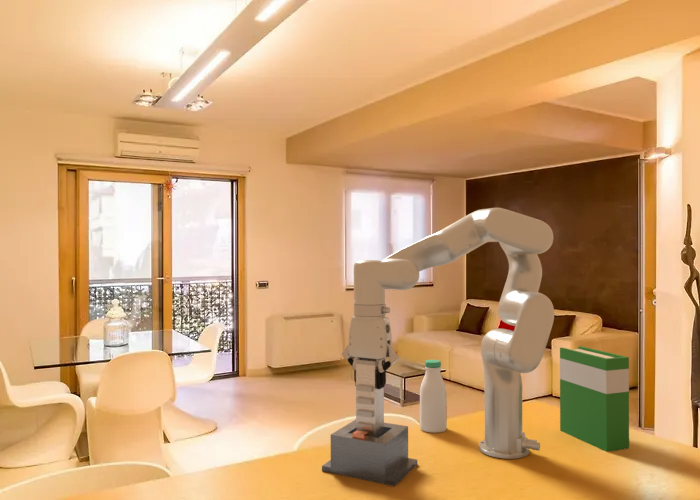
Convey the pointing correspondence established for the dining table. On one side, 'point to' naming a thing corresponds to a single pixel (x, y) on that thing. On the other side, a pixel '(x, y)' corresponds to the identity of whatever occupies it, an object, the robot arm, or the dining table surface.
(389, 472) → the housing
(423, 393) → the milk bottle
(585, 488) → the dining table surface
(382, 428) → the column
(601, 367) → the hardback book
